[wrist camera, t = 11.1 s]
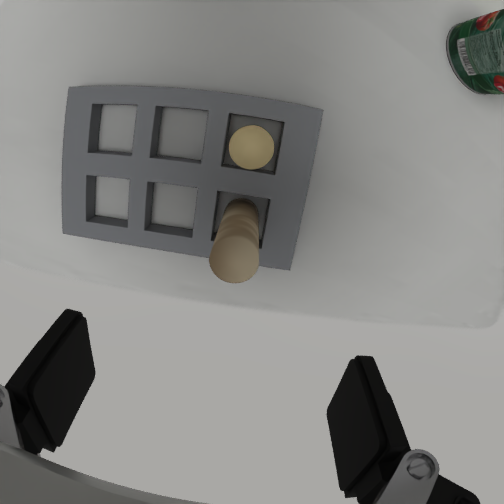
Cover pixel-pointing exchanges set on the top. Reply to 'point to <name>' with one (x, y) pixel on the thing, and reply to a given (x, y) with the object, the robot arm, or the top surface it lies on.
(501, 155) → the top surface
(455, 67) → the canned tomato
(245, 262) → the beech pin
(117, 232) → the peg board
